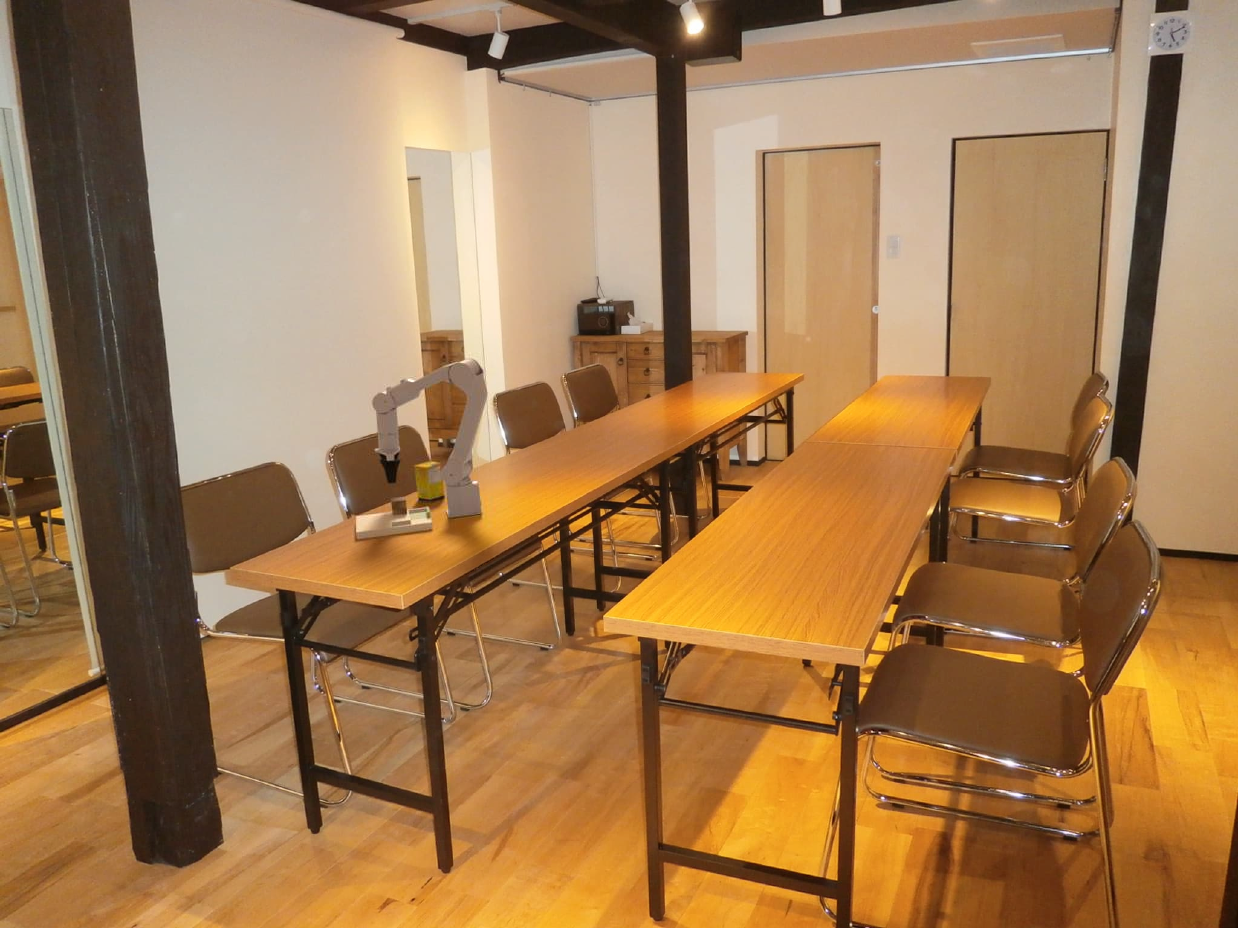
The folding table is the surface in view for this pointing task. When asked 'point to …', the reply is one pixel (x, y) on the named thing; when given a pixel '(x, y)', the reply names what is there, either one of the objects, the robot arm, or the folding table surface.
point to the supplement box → (429, 481)
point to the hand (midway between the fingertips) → (391, 479)
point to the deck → (393, 523)
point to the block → (399, 506)
